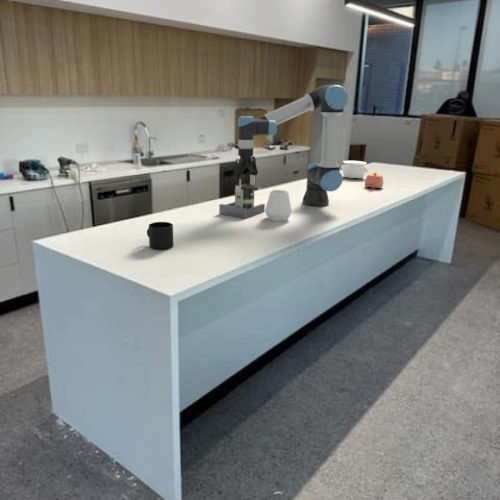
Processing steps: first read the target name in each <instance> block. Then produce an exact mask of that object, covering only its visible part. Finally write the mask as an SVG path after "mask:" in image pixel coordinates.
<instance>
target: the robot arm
mask: <svg viewBox="0 0 500 500" xmlns="http://www.w3.org/2000/svg"><path fill="white" fill-rule="evenodd" d="M348 101H349V94H348V91H347V90H346V89H345V88H344V87H343V86H341V85H338V84H326V85H325V84H323V85H321V86H319V87H317V88H315V89H313V90H312V91H308V93H305V94H304V96H303V97H301V98H299V99H297V100H294V101H292V102H290V103H288V104H285V105H283V106H281V107H279V108H277V109H274V110H272V111H269V112H267V113H265V114H263V115H261V116H259V117H254V116H252V115H251V116H250V115H245V116H244V115H241V116H239V117H238V119H237V120H238V121H237V122H238V124H237V129H238V131H237V132H238V133H237V135H238V136H237V137H238V141H237V142H238V146H237V147H238V149H237V150H238V151H237V152H238V156H239V158H237V159H235V166H234V170H233V175H232V178H233V179H234V181H235V185H236V192H241V184H242V179H241V177H242V174H243V172H244V170H245V169H246V168H247V169H248V170H249V173H250V174H249V184H250V185H254V186H255V187H256V176H258V173H259V170H258V167H257V163H256V157H255V156H254V136H255V137H257V136H260V137H261V136H264V137H265V136H269V137H270V136H275V135H276V134H277V131H278V125H280V124H283V123H285V122H287V121H289V120H292V119H293V118H295V117H298V116H300V115H303V114H304V113H307V112H309V111H310V112H314V111H317V110H320V113H321V115H322V116H323V120H322V140H321V157H320V158H321V159H320V160H321V161H320V162H319V163H310V164H308V166H307V173H306V174H307V176H306V189H305V193H304V194H303V197H302V204H304V205H306V206H312V207H325V206H328V205H329V204H330V203H329V202H330V199H329V195H328V192H334V191H336V190H338V189H339V188H340V187H341V185H342V184H343V180H344V179H343V178H344V176H343V175H342V173H341V172H340V170H341V165H340V164H339V163H338V154H339V140H340V139H339V138H340V123H341V115H343V114H344V109H345V107H346V105H348Z"/></svg>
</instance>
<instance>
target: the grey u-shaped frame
mask: <svg viewBox="0 0 500 500" xmlns="http://www.w3.org/2000/svg"><path fill="white" fill-rule="evenodd" d="M265 205H266V204H265V203H260V204H258V205H254V207H251V208H248V209H246V208H241V207H235V201H233V202H230V203H227V204H223V203H220V204H219V206H218V207H219V209H218V210H219V215H222V216H227V217H232V218H238V219H247V218H252V217H254V216H256V215H259V214H261V213H264V212H265V209H266V206H265Z"/></svg>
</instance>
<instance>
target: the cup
mask: <svg viewBox="0 0 500 500" xmlns="http://www.w3.org/2000/svg"><path fill="white" fill-rule="evenodd" d="M292 210H293V209H292V204H291V198H290V195H289V191H287V190H281V189H274V190H271V191H270V193H269V196H268V200H267V203H266V206H265V211H264V212H265V214H266V216H267V218H268V220H269V221H272V220H273V221H272V222H286V221H288V219H289V218H290V216H292V212H293V211H292ZM285 220H286V221H285Z"/></svg>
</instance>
